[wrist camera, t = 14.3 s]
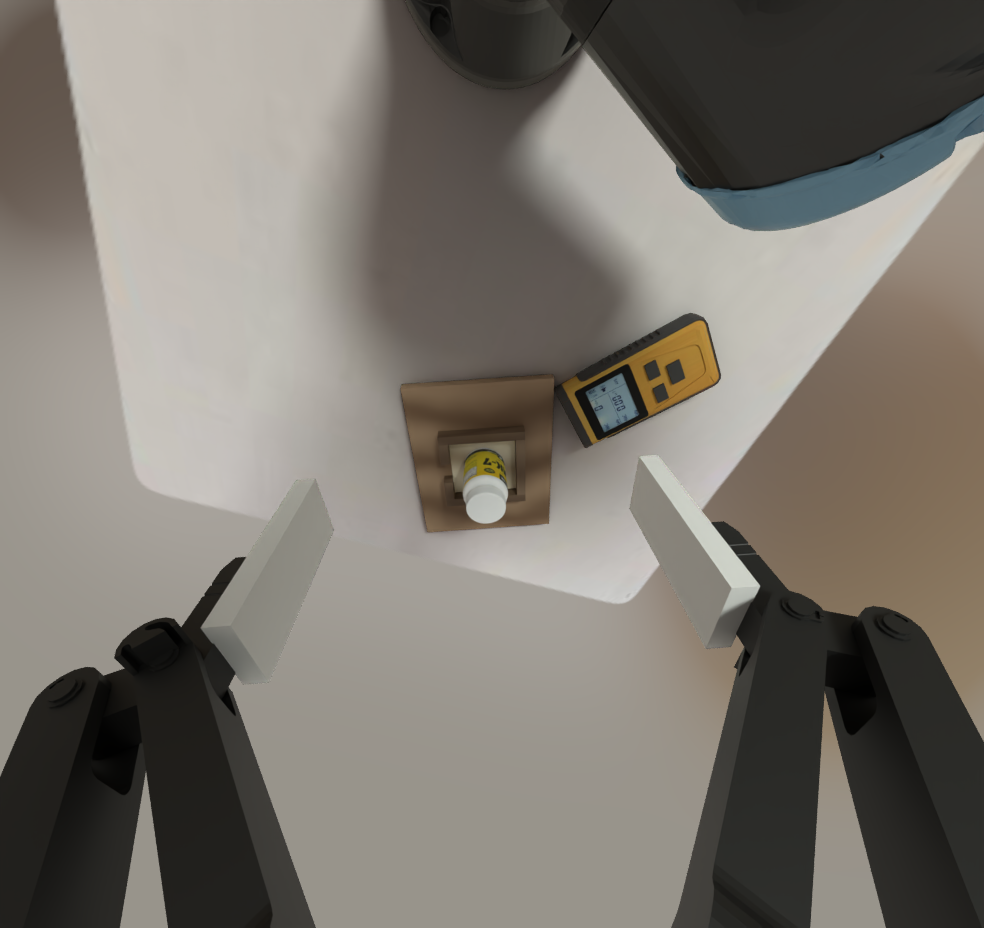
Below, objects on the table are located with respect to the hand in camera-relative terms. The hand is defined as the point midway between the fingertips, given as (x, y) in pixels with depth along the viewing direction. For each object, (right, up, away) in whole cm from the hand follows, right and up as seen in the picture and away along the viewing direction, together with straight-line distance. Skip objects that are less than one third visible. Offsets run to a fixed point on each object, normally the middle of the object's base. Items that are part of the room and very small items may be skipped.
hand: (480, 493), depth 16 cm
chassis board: (-1, +2, +31) cm, 31 cm away
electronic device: (+16, +11, +27) cm, 33 cm away
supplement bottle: (0, +1, +30) cm, 30 cm away
